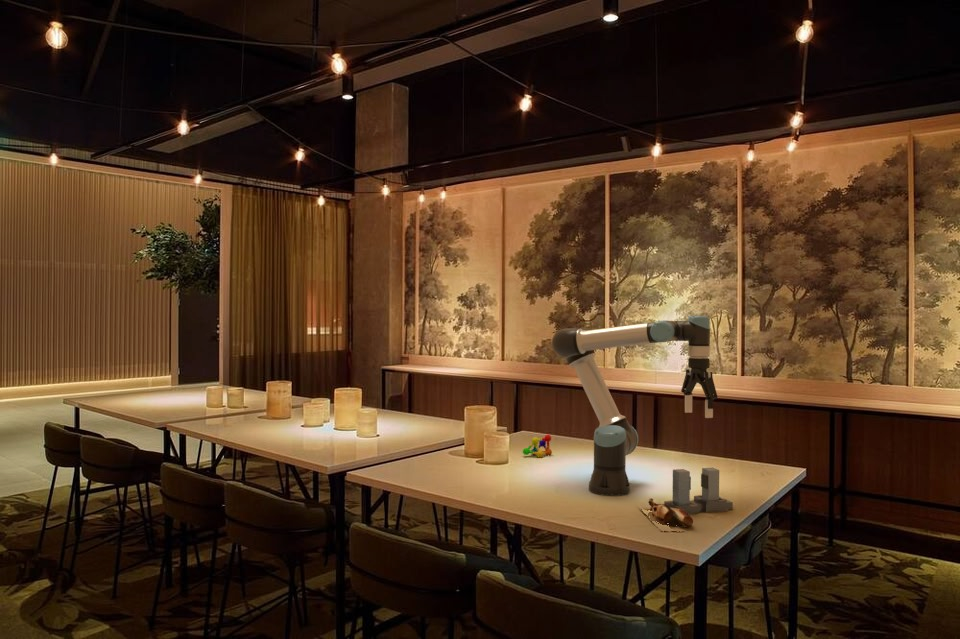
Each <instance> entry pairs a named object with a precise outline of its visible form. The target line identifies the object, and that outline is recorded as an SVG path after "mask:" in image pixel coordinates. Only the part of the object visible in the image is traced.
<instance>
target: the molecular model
mask: <svg viewBox="0 0 960 639" xmlns="http://www.w3.org/2000/svg"><path fill="white" fill-rule="evenodd" d="M551 440H552V436H551V435H550V434H546V435H545V436H544V437H542V438H538V437H533V438H531V444H530V445H529V446H528V447H524V448H523V450H522V454H523V455H525V456H528V455H529V454H532V455H533V454H535V455H534V456H537V458H539V457H542V458H543V457H544V455H546V456H547V455H550V456H552V453H553V451H552V449H550V442H551ZM532 447H533V448H532ZM541 447H543V448H544V450H541V449H540V448H541ZM531 448H532V449H531Z"/></svg>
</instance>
